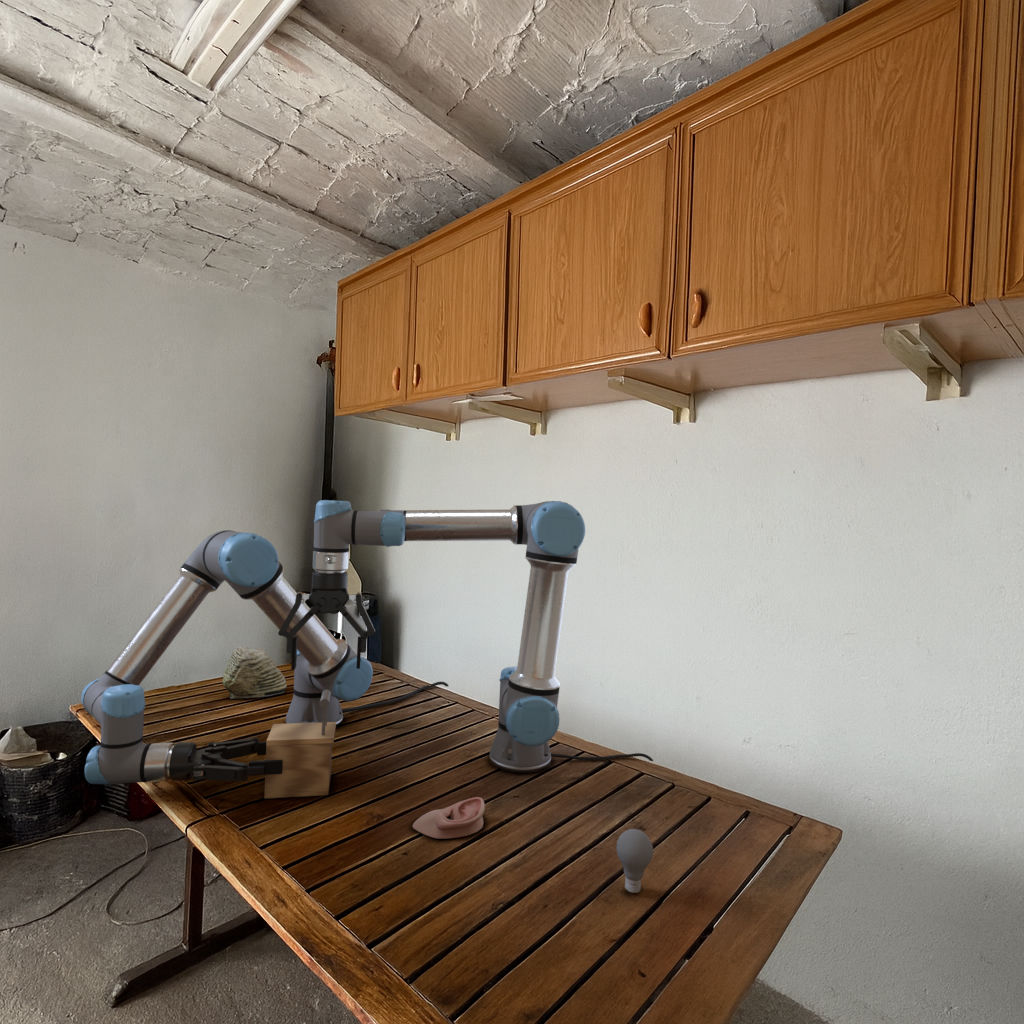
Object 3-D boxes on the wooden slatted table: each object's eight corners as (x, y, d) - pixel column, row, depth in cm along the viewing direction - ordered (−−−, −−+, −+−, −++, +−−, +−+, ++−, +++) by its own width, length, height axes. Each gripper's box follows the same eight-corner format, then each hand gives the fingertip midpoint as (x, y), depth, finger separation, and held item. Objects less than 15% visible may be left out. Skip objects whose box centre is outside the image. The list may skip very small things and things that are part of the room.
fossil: (218, 695, 195) (220, 647, 195) (278, 685, 208) (279, 640, 207) (228, 703, 189) (230, 653, 188) (289, 692, 201) (290, 645, 201)
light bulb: (610, 879, 108) (613, 822, 108) (644, 879, 109) (647, 822, 109) (619, 902, 102) (622, 840, 102) (655, 901, 103) (658, 840, 103)
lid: (335, 726, 144) (337, 687, 144) (333, 743, 135) (335, 700, 135) (273, 729, 141) (274, 688, 141) (266, 745, 132) (268, 702, 132)
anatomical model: (407, 813, 120) (427, 787, 131) (406, 834, 120) (426, 806, 131) (475, 823, 117) (489, 796, 129) (474, 845, 117) (488, 815, 129)
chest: (330, 775, 144) (332, 727, 144) (328, 795, 135) (330, 743, 135) (271, 778, 141) (273, 729, 141) (264, 798, 132) (266, 746, 132)
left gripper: (187, 757, 143) (290, 753, 148) (154, 805, 121) (277, 797, 126) (188, 724, 143) (292, 721, 148) (156, 766, 121) (279, 760, 126)
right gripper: (267, 571, 132) (263, 673, 132) (389, 574, 137) (384, 671, 138) (272, 567, 139) (268, 663, 140) (387, 570, 145) (383, 662, 145)
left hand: (285, 756), depth 137 cm, fingers closed on chest, 10 cm apart
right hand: (326, 667), depth 139 cm, fingers open, 13 cm apart
